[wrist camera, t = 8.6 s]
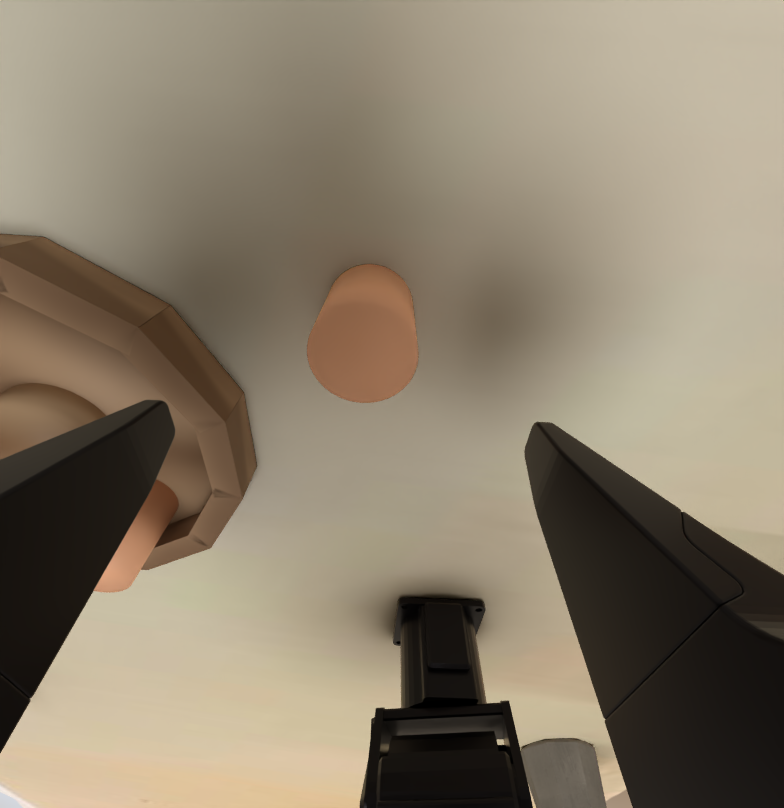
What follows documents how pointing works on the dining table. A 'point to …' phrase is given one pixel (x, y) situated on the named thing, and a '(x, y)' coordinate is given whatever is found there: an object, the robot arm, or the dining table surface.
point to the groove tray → (118, 380)
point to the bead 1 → (140, 539)
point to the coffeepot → (563, 774)
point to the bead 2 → (365, 336)
